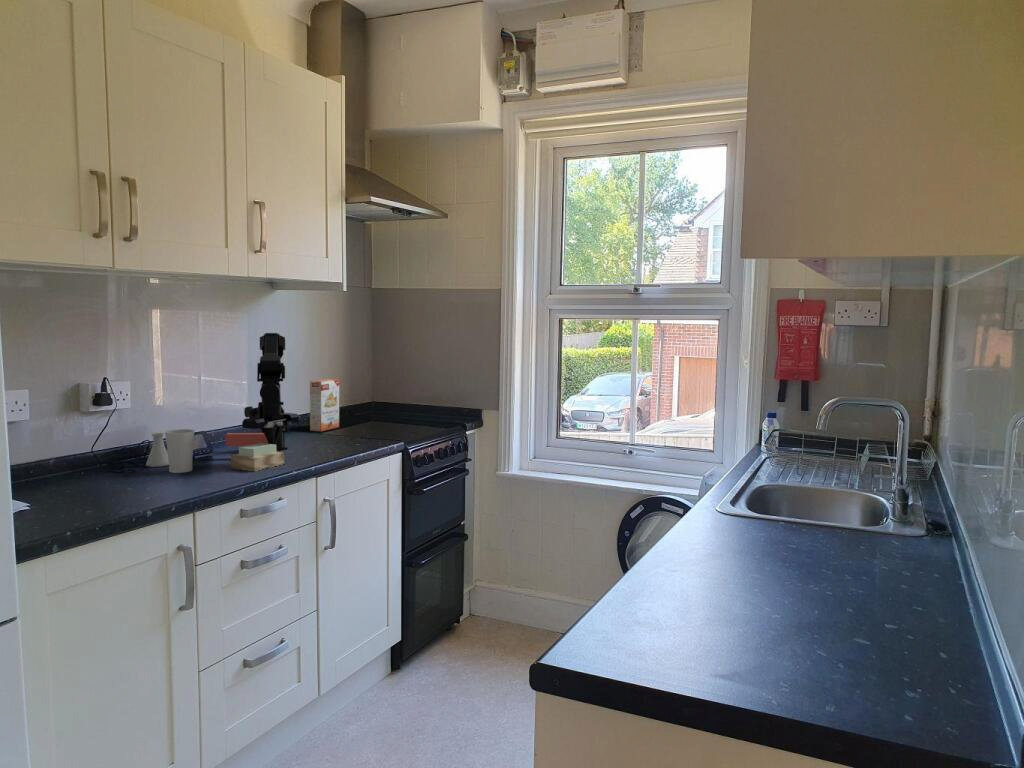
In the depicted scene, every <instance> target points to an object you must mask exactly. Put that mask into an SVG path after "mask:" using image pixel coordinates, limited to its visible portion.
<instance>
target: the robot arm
mask: <svg viewBox="0 0 1024 768" xmlns="http://www.w3.org/2000/svg"><path fill="white" fill-rule="evenodd" d="M259 350H260V351H261V353H262V356H260V357H259V362H257V366H256V367H257V371H256V374H257V377H256V380H257V383H258V382H262V383H261V384H260V385H261V387H260V390H259V396H260V398H261V401H259V402H258V403H257V407H253V406H246V407H244V412H243V413H244V414H243V415H244V417H245V418H243V420H242V422H241V424H242V425H241V427H242V429H252V430H258V429H259V430H261V433H264V434H265V436H266V439H267V441H268V444H275V445H276V451H277V450H278V451H282V449H283V450H287V449H286V448H288V449H289V446H286V444H285V442H286V441H285V434H286V433H288V432H289V433H290V425H289V424H290V423H289V422H291V424H296V423H299V422H300V416H299V415H298V413H296V412H295V413H293V412H285V409H284V407H283V406H284V401H281V399H282V398H281V395H282V394H281V383H280V382H284V379H286V366H285V364H284V362H282V358H283V356H284V351H286V337H285V336H283V335H280V333H278V332H266V333H263V335H262V336H260V337H259Z"/></svg>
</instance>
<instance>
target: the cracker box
mask: <svg viewBox="0 0 1024 768" xmlns="http://www.w3.org/2000/svg"><path fill="white" fill-rule="evenodd" d="M339 428H340V379H336V378H334V379H333V378H327V379H320V380H319V379H318V380H311V381H309V431H310V432H318V433H320V432H325V431H329V430H335V429H339Z"/></svg>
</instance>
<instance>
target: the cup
mask: <svg viewBox="0 0 1024 768" xmlns="http://www.w3.org/2000/svg"><path fill="white" fill-rule="evenodd" d="M164 435H165V436H164V437H165V442H166V443H165V444H166V450H167V453H168V460H169V465H168V466H169V467H168V471H169V473H171V472H172V474H173V473H174V474H180V473H181V474H182V473H183V474H184V473H188V472H191V471H193V456H194V455H193V453H194V442H195V441H194V439H195V430H194V429H188V428H186V429H182V428H181V429H170V430H166V431H164Z"/></svg>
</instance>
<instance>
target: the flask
mask: <svg viewBox="0 0 1024 768" xmlns="http://www.w3.org/2000/svg"><path fill="white" fill-rule="evenodd" d="M164 435H165V432H155V433H152V434H151V436H152V445H151V448H150V449H151V450H150V452H149V454H148V457H147V460H146V464H145V467H151V468H155V467H156V468H157V467H165V466H169V460H168V451H167V447H166V446H165V442H164Z"/></svg>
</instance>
